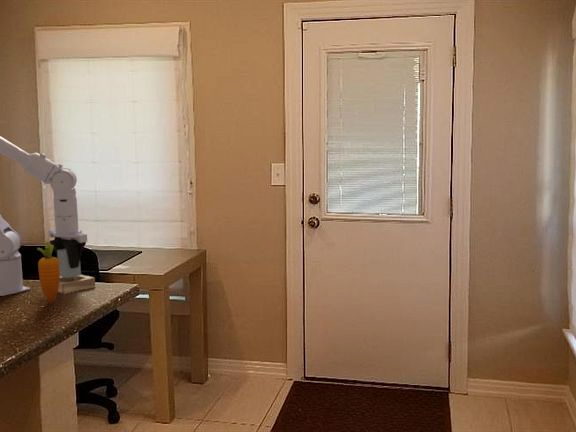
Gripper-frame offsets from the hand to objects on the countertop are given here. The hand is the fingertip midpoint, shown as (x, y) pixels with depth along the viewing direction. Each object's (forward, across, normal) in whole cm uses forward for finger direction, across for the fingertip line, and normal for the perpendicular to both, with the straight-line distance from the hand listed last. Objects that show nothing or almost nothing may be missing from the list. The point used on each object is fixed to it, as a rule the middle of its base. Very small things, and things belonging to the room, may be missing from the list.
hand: (69, 266), depth 171 cm
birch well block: (+6, 0, 0) cm, 6 cm away
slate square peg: (+2, 0, 0) cm, 2 cm away
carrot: (+6, -9, +12) cm, 16 cm away
